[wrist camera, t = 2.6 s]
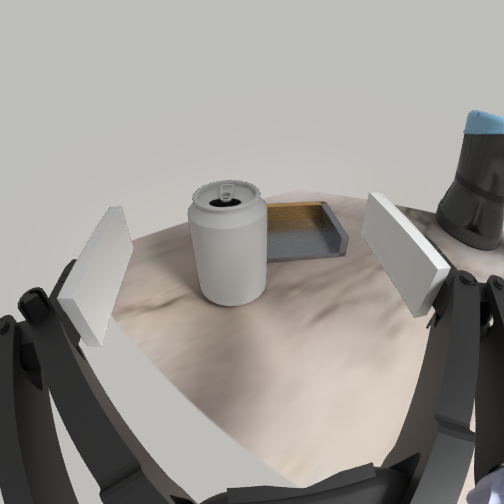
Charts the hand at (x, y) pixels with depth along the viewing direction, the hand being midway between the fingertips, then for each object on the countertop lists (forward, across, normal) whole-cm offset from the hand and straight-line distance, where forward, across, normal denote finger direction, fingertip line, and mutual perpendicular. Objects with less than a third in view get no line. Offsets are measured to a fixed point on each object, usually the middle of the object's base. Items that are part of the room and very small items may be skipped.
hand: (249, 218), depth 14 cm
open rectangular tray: (+20, +8, -15) cm, 27 cm away
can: (+11, -1, -16) cm, 19 cm away
